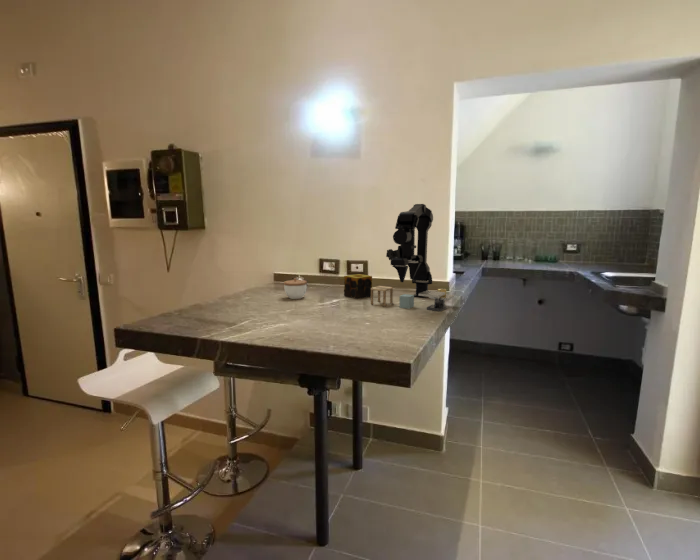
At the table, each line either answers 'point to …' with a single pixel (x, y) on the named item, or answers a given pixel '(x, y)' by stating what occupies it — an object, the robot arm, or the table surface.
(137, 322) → the table surface
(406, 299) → the block
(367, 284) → the candle
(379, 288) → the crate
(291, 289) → the lidded jar
